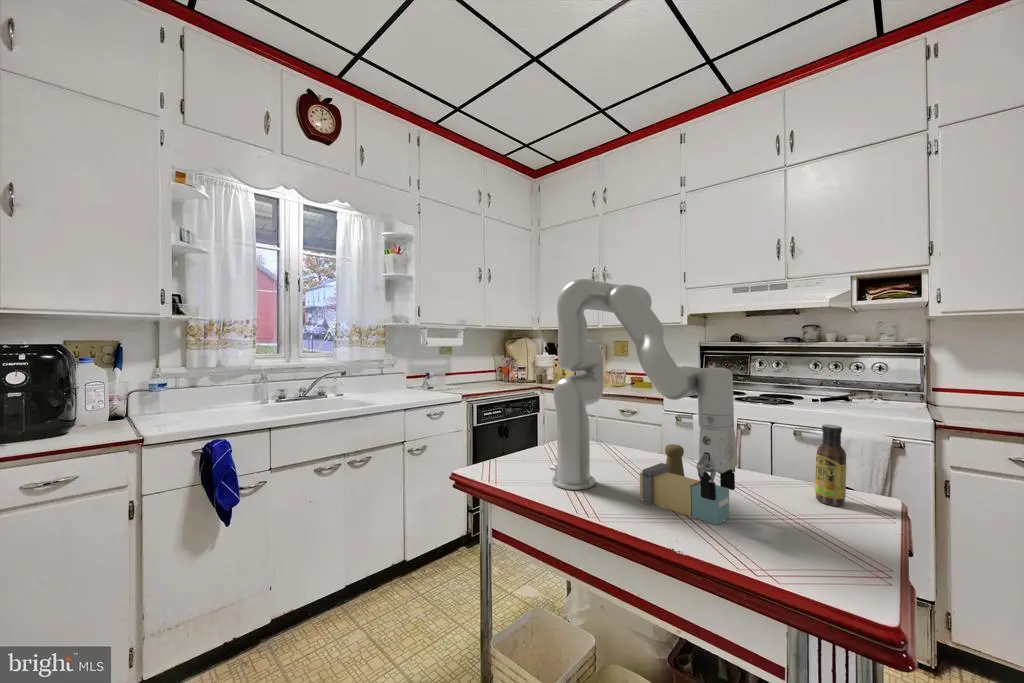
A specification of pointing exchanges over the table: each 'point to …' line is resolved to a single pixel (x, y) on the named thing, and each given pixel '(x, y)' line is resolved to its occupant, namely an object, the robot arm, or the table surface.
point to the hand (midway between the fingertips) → (718, 493)
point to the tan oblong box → (667, 488)
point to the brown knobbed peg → (675, 459)
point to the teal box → (710, 505)
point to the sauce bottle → (831, 468)
